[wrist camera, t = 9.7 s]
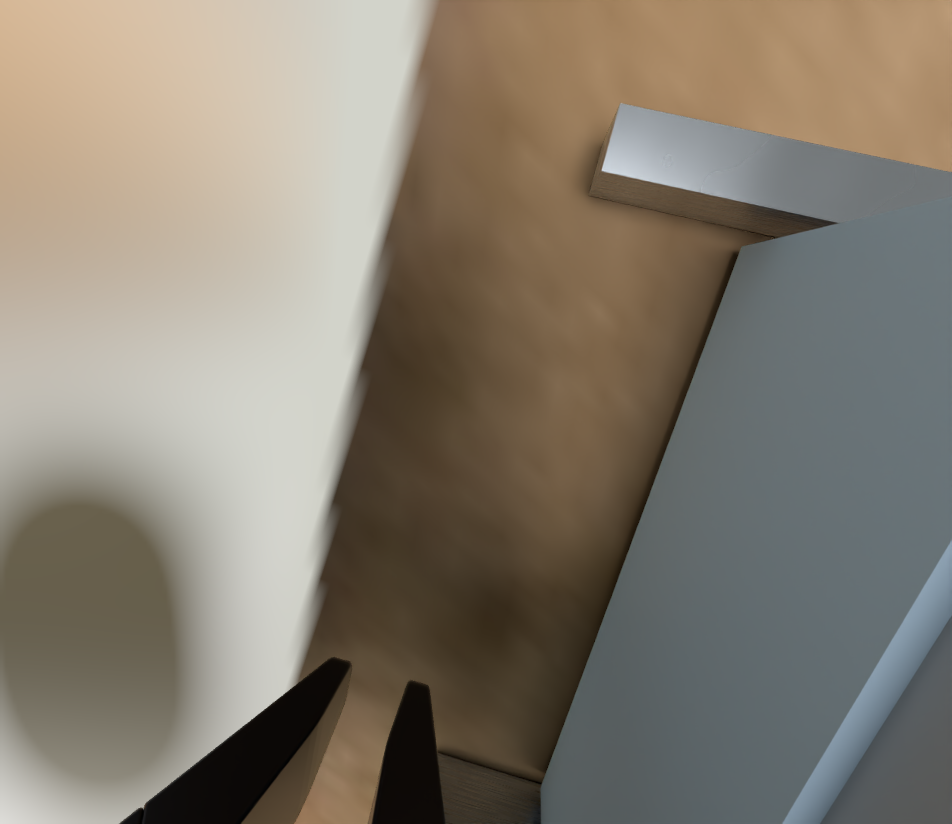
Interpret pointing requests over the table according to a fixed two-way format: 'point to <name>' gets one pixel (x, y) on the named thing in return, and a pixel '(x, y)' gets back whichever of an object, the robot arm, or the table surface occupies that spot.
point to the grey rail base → (725, 203)
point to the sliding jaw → (790, 557)
